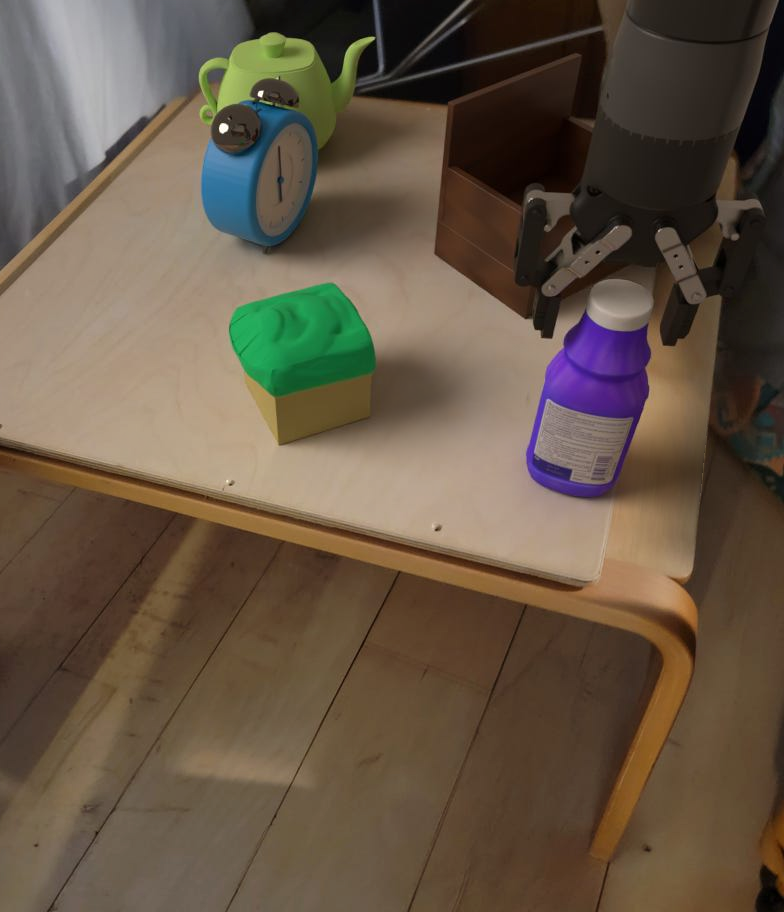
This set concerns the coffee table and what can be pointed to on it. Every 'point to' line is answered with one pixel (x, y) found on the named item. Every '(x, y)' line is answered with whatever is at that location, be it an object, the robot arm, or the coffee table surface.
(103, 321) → the coffee table surface
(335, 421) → the cake
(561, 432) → the bottle
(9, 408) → the coffee table surface
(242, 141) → the alarm clock
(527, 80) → the box
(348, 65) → the teapot
